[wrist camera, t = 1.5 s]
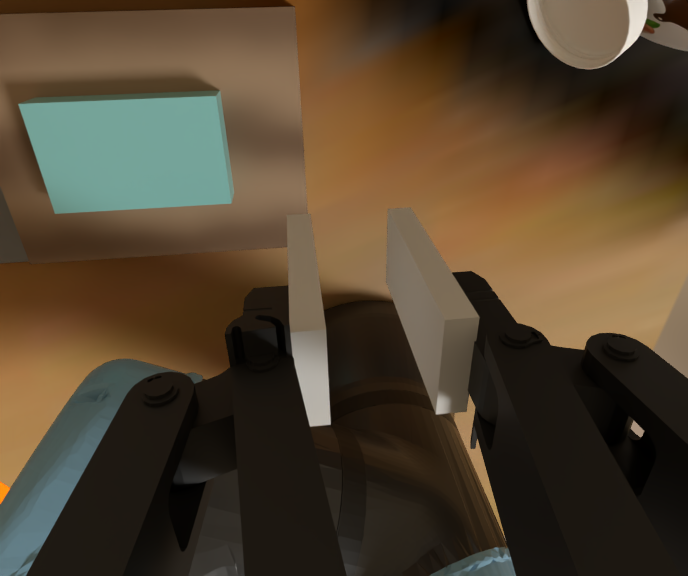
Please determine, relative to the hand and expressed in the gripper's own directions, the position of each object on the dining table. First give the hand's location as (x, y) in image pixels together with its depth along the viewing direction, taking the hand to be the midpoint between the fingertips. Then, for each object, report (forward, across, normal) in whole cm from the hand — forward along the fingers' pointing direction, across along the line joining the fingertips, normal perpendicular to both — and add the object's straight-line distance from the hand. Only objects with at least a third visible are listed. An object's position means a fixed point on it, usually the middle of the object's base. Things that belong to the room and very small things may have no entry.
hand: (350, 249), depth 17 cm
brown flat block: (+19, +10, 0) cm, 21 cm away
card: (+15, +10, 0) cm, 18 cm away
